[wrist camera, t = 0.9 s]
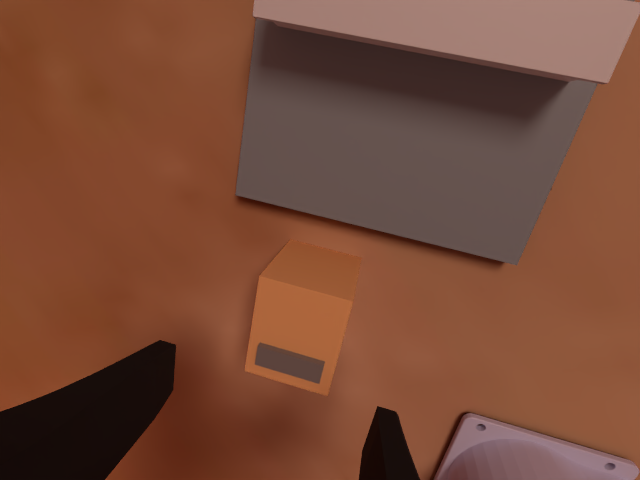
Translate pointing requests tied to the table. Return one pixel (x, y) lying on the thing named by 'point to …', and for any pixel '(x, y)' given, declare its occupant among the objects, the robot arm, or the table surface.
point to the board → (423, 111)
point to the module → (302, 315)
